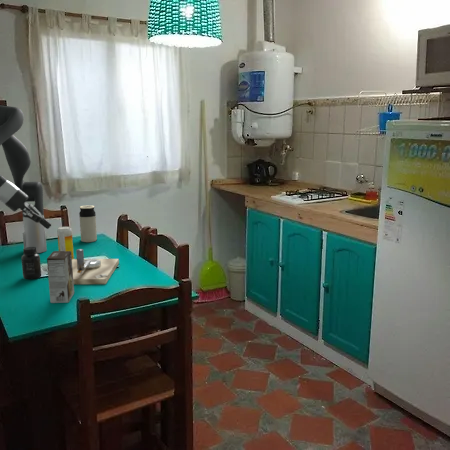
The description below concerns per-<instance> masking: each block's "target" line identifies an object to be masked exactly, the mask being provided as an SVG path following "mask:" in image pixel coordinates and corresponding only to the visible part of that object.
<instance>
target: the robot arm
mask: <svg viewBox="0 0 450 450" xmlns="http://www.w3.org/2000/svg"><path fill="white" fill-rule="evenodd" d="M24 118H25V117H24V113H23V111H22V109H21V108H19V107H16V106H8V105H1V104H0V146H1V147H2V149H3V153H4V156H5V160H6V162H7V165H8V167H9V170H10V172H11V176H12V178H13V182H11V181H9V180H8V179H7V178H6V177H4V176H3V175H2V174H1V173H0V202H1V203H2V204H4V205H5V206H6V207H7V208H9V209H10V211H11V210H12V212H17V211H18V210H19V209H20V211H22V212H21V213H22V221H23V222H22V223H23V233H22V239H23V249H24V248H26V247H36V250H37V252H36V253H37V254H41V253H44V252H47V251H48V249H47V248H48V247H47V238H46V229H47V230H49V229H50V228H51V227H52V223H51V222H50V221H48V220H47V219H46V218H45V213H44V210H45V209H44V188H43V184H42V182H40V181H24V180H23V179H24V178H25V175H26V174H27V172H28V171H29V168H30V166H31V162H32V161H31V157H30V154H29V151H28V148H27V147H26V145H24V143H22V141H21V140H20V139H19V138H17V137H16V136H15V135H14V134H16V133H17V132H19V130H20V129H21V128H22V127H23V124H24ZM28 202H34V204H32V203H28Z"/></svg>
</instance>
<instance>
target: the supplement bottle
mask: <svg viewBox="0 0 450 450" xmlns="http://www.w3.org/2000/svg"><path fill="white" fill-rule="evenodd" d="M22 251H23V255H21V258H20V259H21V270H22V277H23V279H25V280H30V281H31V280H36V279H39V278H41V277H42V265H41V257H40V253H36V252H37V250H36V247H26V248H24V247H23V249H22Z"/></svg>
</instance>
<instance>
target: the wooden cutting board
mask: <svg viewBox="0 0 450 450" xmlns="http://www.w3.org/2000/svg"><path fill="white" fill-rule="evenodd" d="M88 259H89V258H84V260H88ZM96 259H97V260H100V261H101V266H100V267H98V268H94V269H85V270H84V272H83V273H77V271H78V269H77V258H74V259H72V269H73V283H74V285H106V284H107V283H108V281H109V280H110V278H111V277H112V274H114V272H115V270H116V268H117V267H118V265H119V264H120V260H119V258H96Z"/></svg>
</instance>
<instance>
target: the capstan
mask: <svg viewBox="0 0 450 450" xmlns="http://www.w3.org/2000/svg"><path fill="white" fill-rule="evenodd" d="M75 253H76V259H77V269H78V271H77V273H83V272H84V270H85V269H94V268H98V267H100V266H101V261H100V260H97V259H98V258H87V259H88V260H84V259H85V255H84V249H83V248H78V249H76V251H75Z"/></svg>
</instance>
